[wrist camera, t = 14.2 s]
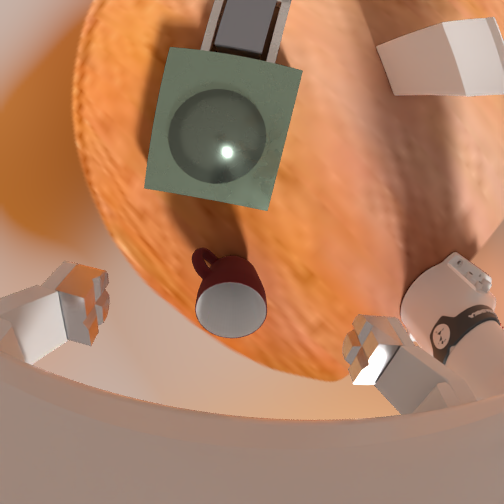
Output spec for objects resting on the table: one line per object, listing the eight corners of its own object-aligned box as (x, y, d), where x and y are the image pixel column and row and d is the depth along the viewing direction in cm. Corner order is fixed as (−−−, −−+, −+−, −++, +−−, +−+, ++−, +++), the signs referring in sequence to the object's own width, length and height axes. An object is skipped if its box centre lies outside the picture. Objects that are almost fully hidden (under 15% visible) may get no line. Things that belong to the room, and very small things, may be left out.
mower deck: (311, 9, 26) (322, -7, 21) (264, 198, 37) (268, 213, 32) (199, -12, 25) (192, -31, 19) (156, 178, 36) (142, 190, 30)
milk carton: (393, 95, 31) (496, 99, 14) (374, 46, 28) (469, 14, 11) (432, 86, 30) (535, 92, 13) (415, 40, 27) (513, 19, 10)
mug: (178, 260, 41) (162, 302, 32) (214, 218, 38) (206, 252, 29) (236, 301, 44) (235, 348, 35) (273, 265, 42) (282, 308, 33)
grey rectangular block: (272, 13, 27) (277, -1, 22) (259, 60, 30) (262, 52, 25) (231, 5, 26) (230, -10, 22) (218, 52, 29) (214, 43, 25)
